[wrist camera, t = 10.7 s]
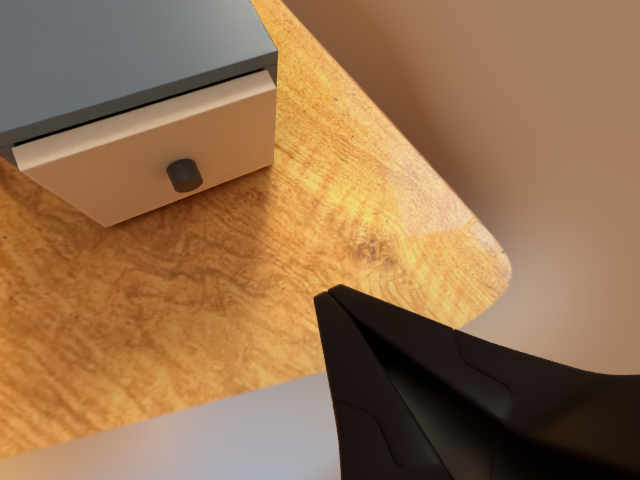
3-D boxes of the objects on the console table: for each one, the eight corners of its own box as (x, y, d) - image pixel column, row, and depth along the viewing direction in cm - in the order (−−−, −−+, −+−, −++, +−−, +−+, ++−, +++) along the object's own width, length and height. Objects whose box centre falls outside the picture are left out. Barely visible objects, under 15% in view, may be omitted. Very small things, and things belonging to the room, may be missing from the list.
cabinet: (273, 153, 25) (278, 50, 16) (95, 219, 22) (-25, 140, 13) (196, 1, 28) (162, -162, 19) (25, 42, 25) (-117, -130, 15)
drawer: (281, 178, 24) (287, 108, 16) (111, 245, 21) (28, 197, 14) (198, 15, 26) (171, -110, 19) (36, 56, 24) (-70, -72, 16)
